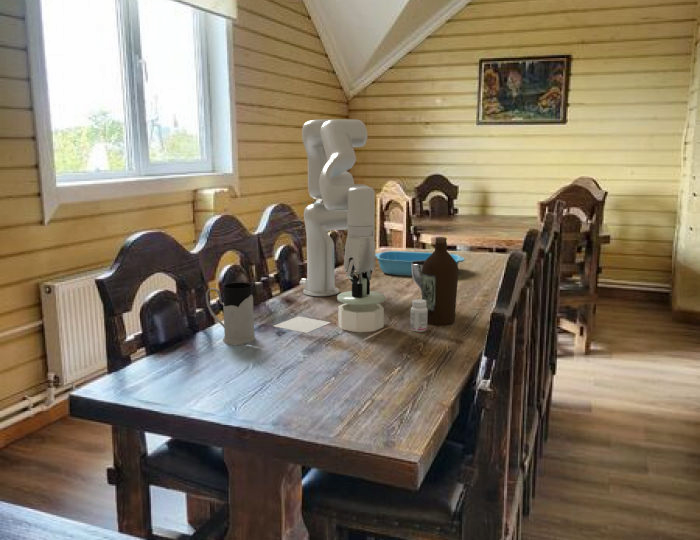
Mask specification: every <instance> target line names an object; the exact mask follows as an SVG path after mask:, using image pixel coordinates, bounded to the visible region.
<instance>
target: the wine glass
mask: <svg viewBox="0 0 700 540" xmlns="http://www.w3.org/2000/svg"><path fill="white" fill-rule="evenodd" d="M424 262H425V260H418V261H413V262H412V263H411V270H412V276H411V277H412V280H413V281H414V283H415V284H416V285H417V287H418V288H419V289H420V292H421V299H422V300H423V292H422V267H423V264H424Z"/></svg>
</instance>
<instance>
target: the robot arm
mask: <svg viewBox="0 0 700 540" xmlns="http://www.w3.org/2000/svg"><path fill="white" fill-rule="evenodd" d="M301 129H302V130H301V139H302V144H303V146H304V150H305V152H306V157H307V190H308V194H309V197H310V198H312V199H316V200H322V202H316V203H315V202H313V203H311V204H308V205H307V206H306V207H305V208H304V211H303V221H304V227H305V234H306V236H305V237H306V266H307V269H306V270H307V273H306V275H307V278H301V279H300V281H299V285H303V286H304V288H302V289H303V290H302V292H303V294H304V295H306V296H312V297H329V296H334V295H338V294H340V289H339V288H338V287H336V286H335V242H334V240H333V238H332V237H331V236H330V235H329V233H328V232H329V231H340V230H341V231H342V230H343V231H345V230H347V237H346V239H345V240H346V241H345V245H344V246H345V247H344V258H343V259H344V260H343V269H344V272H346V273H345V274H346V277H347V278H348V279H349V280H350V283H351V291H352V296H353V297H358V298H361V297H362V284H361V278H366V279H367V295H369V294H370V291H371V282H370V281H371V280H372V278H371V277H372V274H373V272H374V270H375V268H376V256H375V254H376V242H375V227H376V225H375V216H376V215H375V214H376V210H375V196H376V195H375V193H376V191H375V190H374V188H373V187H370V186H368V185H367V184H363V183H360V184H359V183H356V184H355V181H354V178H353V177H354V176H353V174H352V173H351V172H349V170H350V169H352V168H353V166H354V165H355V163H356V161H357V157H356V153H355V150H354V148H362V147H364V146H365V145H366V144H367V142H368V129H367V126H366V125H365V123H364V122H363V121H362V120H360V119H345V118H344V119H342V118H341V119H339V118H337V119H336V118H335V119H312V120H311V119H310V120H308V121H306V122H305V123H304V124H303V125H302V128H301Z"/></svg>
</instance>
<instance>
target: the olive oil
mask: <svg viewBox="0 0 700 540" xmlns="http://www.w3.org/2000/svg"><path fill="white" fill-rule="evenodd" d="M447 239H448V238H447V237H444V236H436V237H435V242H434V251H433V252H431V253H432V254H431V255H430V256H429V257H428V258H427V259H426V260H425V262H424V264H423V267H422V292H423V300H426V307H427V309H428V315H427V325H428V324H429V325H432V326H433V325H434V326H448V325H451V324H454V323H455V321H456V306H457V305H456V304H457V294H458V283H459V273H460V272H459V266H458V265H459V264H458V265H457V263H456V261H455V260H454V259H453V258H452V256H451V255H450V254H451V253H449V252H448V250H447V249H448V246H447V245H448V242H447Z"/></svg>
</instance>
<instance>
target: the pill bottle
mask: <svg viewBox="0 0 700 540" xmlns="http://www.w3.org/2000/svg"><path fill="white" fill-rule="evenodd" d="M411 301H412V302H411V306H412V307H410V323H409V324H410V325H409V326H410V327H409V328H410V330H411V331H412V332H419V333H420V332H427V330H428V323H427V315H428V309H427V307H426V300H422V298H421V299H419V298H418V299H412V300H411Z"/></svg>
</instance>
